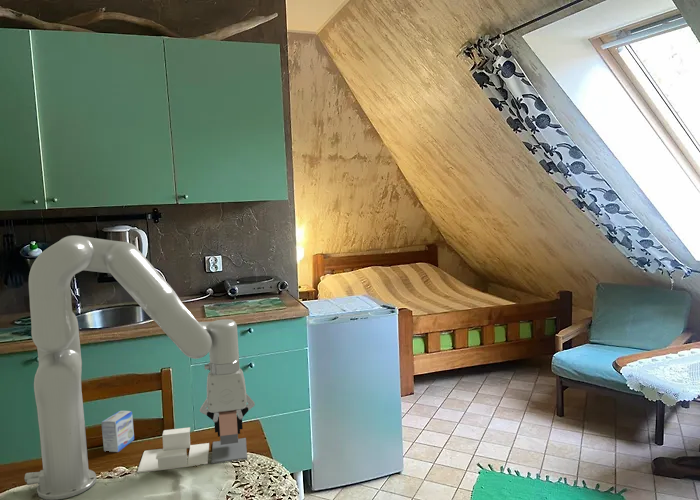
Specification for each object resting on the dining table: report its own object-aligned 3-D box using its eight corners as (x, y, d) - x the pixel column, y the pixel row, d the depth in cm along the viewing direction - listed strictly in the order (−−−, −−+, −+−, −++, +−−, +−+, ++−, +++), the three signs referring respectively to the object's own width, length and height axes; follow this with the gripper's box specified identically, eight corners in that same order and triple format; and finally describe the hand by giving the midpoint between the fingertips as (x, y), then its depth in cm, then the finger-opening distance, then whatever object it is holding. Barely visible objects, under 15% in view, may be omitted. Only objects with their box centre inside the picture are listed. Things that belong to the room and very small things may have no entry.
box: (220, 444, 144) (218, 415, 143) (221, 435, 150) (219, 406, 149) (238, 442, 145) (236, 413, 144) (237, 433, 151) (236, 404, 150)
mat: (211, 463, 141) (211, 462, 141) (212, 443, 153) (212, 441, 153) (247, 459, 143) (247, 457, 143) (245, 439, 155) (245, 437, 154)
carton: (135, 477, 135) (134, 460, 135) (145, 448, 151) (144, 432, 151) (207, 468, 139) (206, 451, 138) (209, 440, 155) (208, 425, 154)
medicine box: (117, 453, 149) (115, 422, 148) (103, 451, 150) (100, 421, 149) (134, 440, 157) (132, 410, 156) (120, 439, 157) (118, 409, 157)
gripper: (190, 374, 140) (195, 443, 142) (258, 367, 144) (261, 435, 145) (192, 365, 147) (197, 431, 149) (256, 359, 151) (260, 423, 153)
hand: (229, 432), depth 147 cm, fingers closed on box, 4 cm apart
